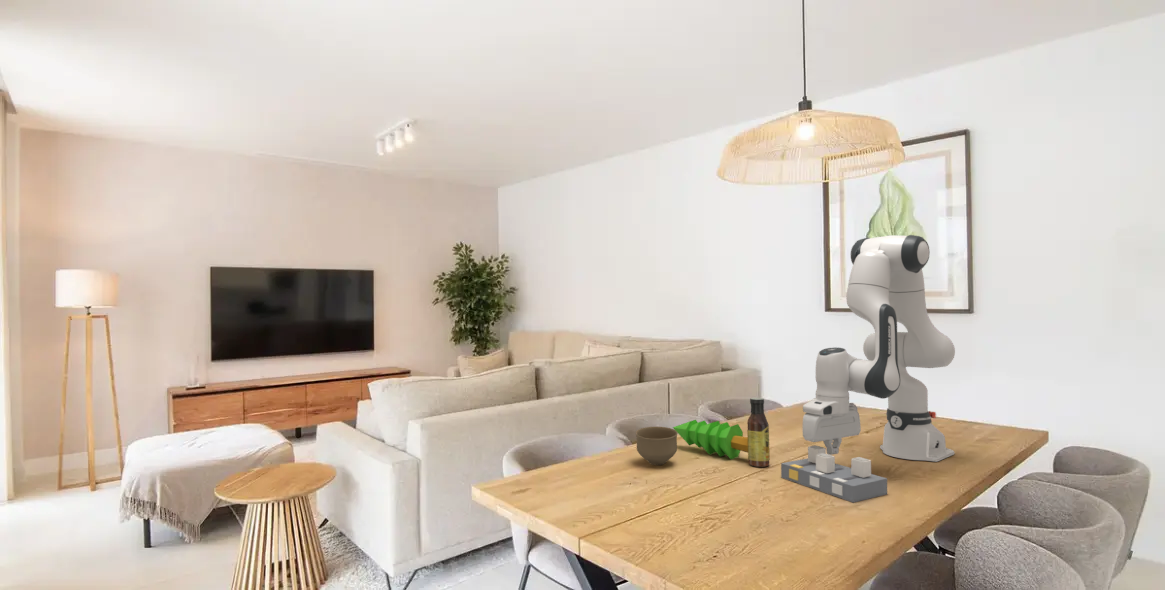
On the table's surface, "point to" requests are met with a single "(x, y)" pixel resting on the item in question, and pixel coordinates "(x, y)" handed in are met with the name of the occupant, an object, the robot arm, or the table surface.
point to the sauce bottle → (758, 435)
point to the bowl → (656, 444)
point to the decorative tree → (714, 437)
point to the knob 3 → (861, 467)
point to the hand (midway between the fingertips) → (832, 453)
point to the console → (834, 481)
